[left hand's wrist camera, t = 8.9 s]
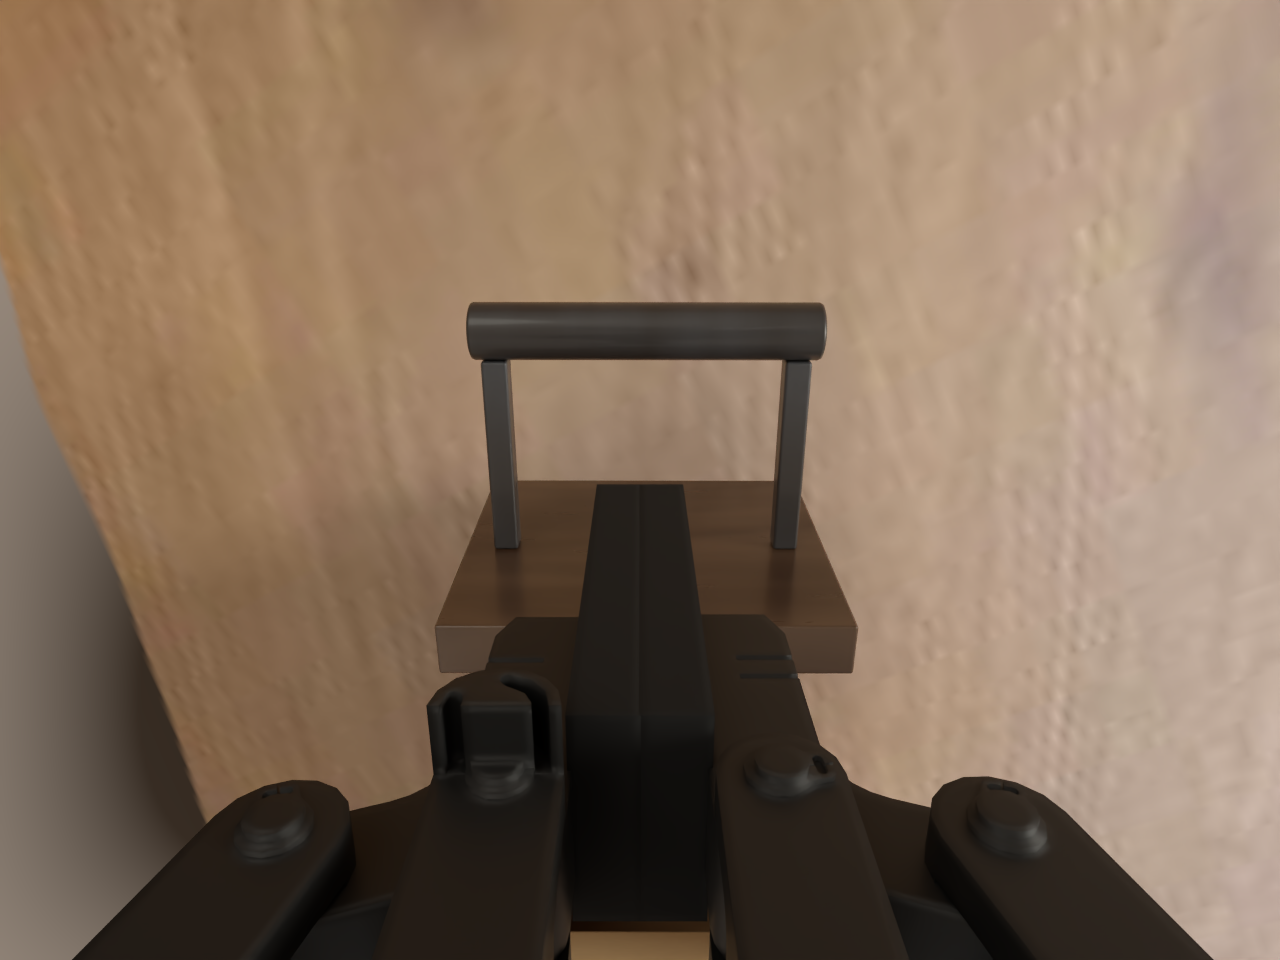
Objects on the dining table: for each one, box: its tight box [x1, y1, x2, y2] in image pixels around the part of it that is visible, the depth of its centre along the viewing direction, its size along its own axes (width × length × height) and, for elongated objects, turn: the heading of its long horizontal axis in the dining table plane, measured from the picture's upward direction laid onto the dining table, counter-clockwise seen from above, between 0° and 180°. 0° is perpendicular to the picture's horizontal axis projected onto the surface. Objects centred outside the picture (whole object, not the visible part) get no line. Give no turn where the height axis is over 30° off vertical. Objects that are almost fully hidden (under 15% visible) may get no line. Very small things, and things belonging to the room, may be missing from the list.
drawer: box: [435, 302, 858, 931], centre depth 23 cm, size 22×9×8 cm, turn 0°
